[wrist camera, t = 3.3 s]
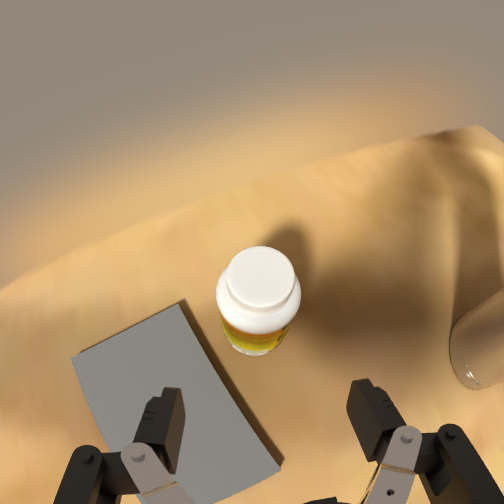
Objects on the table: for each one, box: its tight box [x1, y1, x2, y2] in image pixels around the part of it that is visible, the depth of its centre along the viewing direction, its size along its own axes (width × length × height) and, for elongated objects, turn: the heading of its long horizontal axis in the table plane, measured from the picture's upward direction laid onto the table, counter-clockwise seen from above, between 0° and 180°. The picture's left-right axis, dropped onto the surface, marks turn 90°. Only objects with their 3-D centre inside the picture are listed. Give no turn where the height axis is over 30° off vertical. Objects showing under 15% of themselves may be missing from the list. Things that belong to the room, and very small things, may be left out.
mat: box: [71, 304, 281, 504], centre depth 20 cm, size 12×17×1 cm
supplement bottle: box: [216, 246, 301, 355], centre depth 21 cm, size 6×6×10 cm
